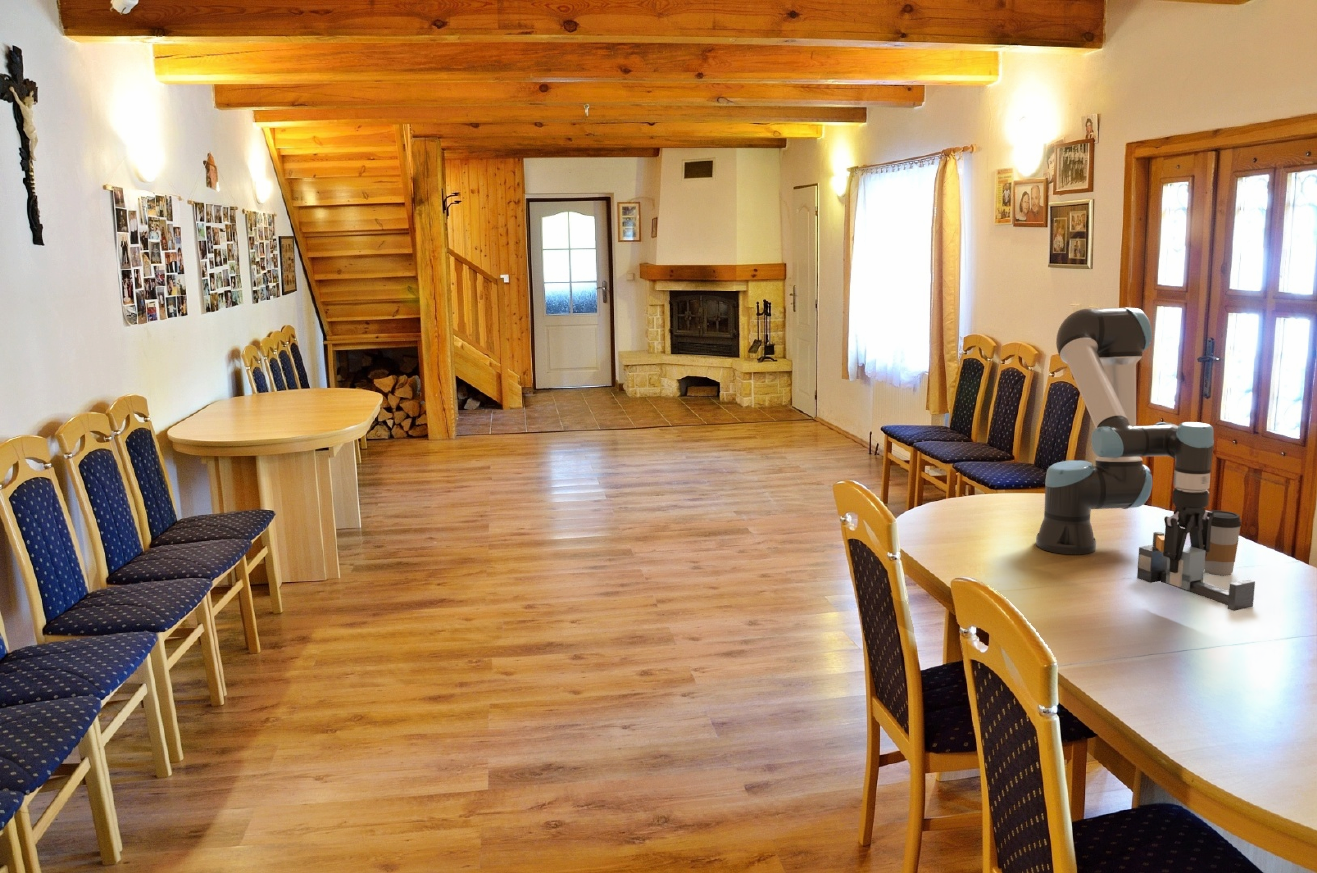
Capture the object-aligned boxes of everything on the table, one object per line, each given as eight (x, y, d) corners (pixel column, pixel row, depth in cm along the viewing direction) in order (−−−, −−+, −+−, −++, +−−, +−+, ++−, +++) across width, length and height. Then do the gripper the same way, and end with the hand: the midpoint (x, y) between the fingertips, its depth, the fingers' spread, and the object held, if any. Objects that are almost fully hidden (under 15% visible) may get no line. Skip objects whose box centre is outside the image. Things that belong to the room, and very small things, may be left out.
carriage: (1165, 582, 237) (1168, 546, 235) (1180, 579, 239) (1183, 544, 237) (1187, 590, 231) (1190, 553, 230) (1202, 587, 233) (1205, 550, 232)
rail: (1160, 582, 240) (1161, 572, 239) (1167, 580, 241) (1168, 570, 240) (1231, 606, 222) (1232, 596, 222) (1239, 605, 223) (1240, 594, 223)
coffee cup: (1242, 578, 241) (1247, 519, 238) (1205, 577, 242) (1209, 518, 240) (1230, 567, 249) (1235, 510, 246) (1194, 566, 250) (1198, 509, 248)
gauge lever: (1158, 551, 236) (1159, 539, 236) (1151, 544, 242) (1152, 531, 242) (1169, 552, 236) (1170, 539, 235) (1161, 544, 242) (1162, 532, 241)
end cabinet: (1136, 578, 243) (1138, 547, 241) (1160, 573, 246) (1163, 542, 244) (1150, 583, 239) (1152, 551, 238) (1174, 578, 242) (1176, 547, 241)
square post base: (1227, 608, 221) (1229, 583, 220) (1246, 604, 224) (1248, 579, 222) (1234, 611, 220) (1236, 585, 219) (1252, 606, 222) (1255, 581, 221)
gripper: (1176, 496, 224) (1169, 594, 228) (1233, 487, 231) (1225, 582, 235) (1149, 489, 231) (1143, 584, 235) (1204, 481, 237) (1197, 573, 242)
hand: (1184, 583), depth 235 cm, fingers closed on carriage, 5 cm apart
